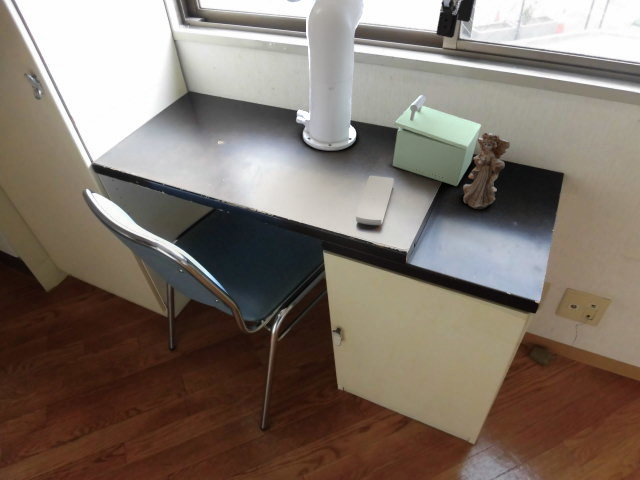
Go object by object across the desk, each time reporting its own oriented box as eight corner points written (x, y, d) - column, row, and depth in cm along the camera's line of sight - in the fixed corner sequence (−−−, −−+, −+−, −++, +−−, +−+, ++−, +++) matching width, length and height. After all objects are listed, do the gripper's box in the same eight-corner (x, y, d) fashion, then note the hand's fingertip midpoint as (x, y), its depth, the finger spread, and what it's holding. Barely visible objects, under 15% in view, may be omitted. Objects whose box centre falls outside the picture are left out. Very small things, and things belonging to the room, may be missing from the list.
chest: (392, 165, 104) (397, 130, 98) (409, 144, 111) (415, 110, 105) (456, 186, 99) (466, 150, 93) (470, 163, 105) (480, 128, 99)
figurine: (451, 200, 96) (469, 134, 85) (464, 186, 99) (482, 121, 89) (486, 215, 92) (508, 148, 82) (498, 200, 96) (521, 134, 86)
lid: (394, 125, 98) (398, 106, 95) (412, 105, 104) (416, 87, 101) (466, 150, 93) (472, 130, 90) (480, 127, 99) (486, 108, 96)
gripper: (468, -91, 84) (449, 11, 96) (435, -75, 73) (417, 38, 85) (511, -86, 82) (485, 18, 94) (483, -69, 71) (458, 47, 82)
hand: (453, 27), depth 89 cm, fingers open, 9 cm apart
